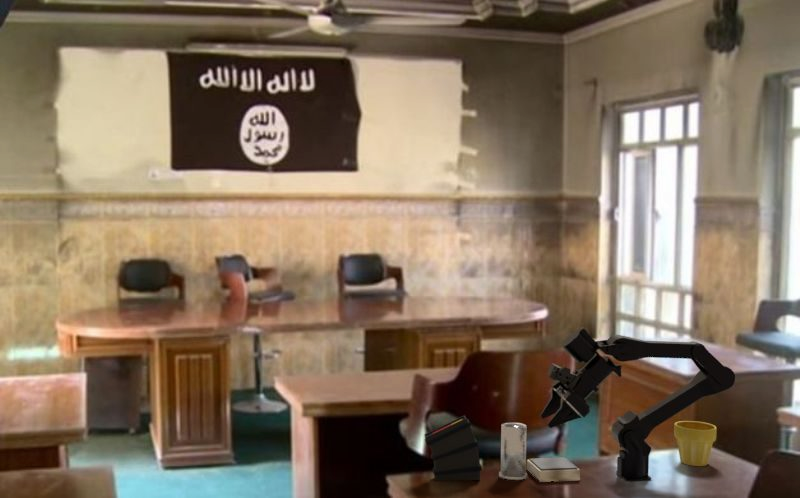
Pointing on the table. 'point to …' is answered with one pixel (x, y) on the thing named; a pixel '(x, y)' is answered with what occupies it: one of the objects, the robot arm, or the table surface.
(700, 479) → the table surface
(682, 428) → the plant pot
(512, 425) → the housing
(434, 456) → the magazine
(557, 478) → the stand
